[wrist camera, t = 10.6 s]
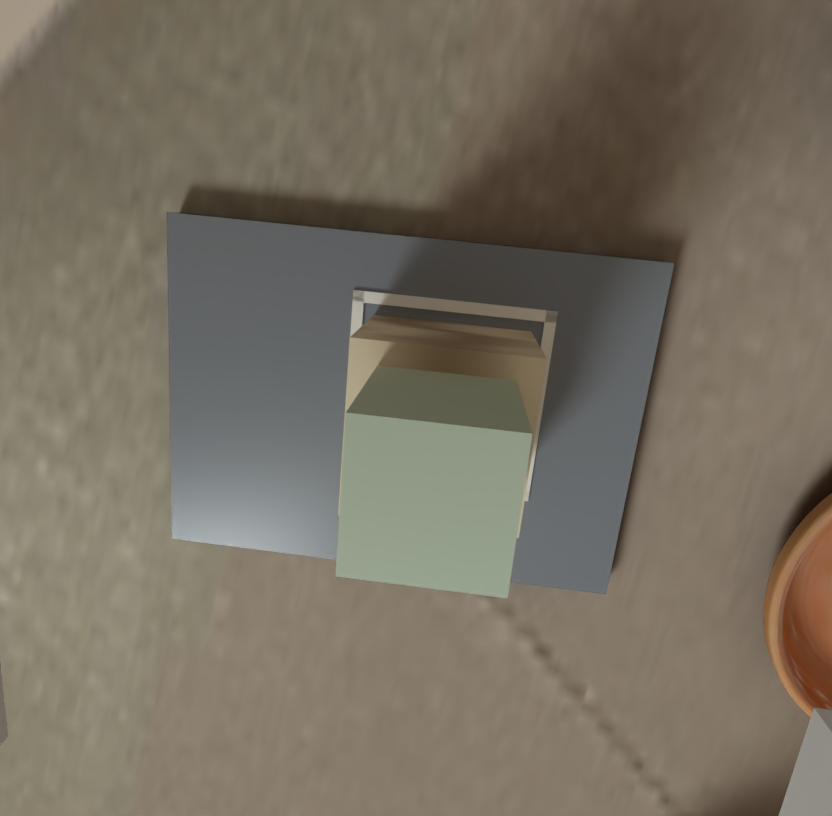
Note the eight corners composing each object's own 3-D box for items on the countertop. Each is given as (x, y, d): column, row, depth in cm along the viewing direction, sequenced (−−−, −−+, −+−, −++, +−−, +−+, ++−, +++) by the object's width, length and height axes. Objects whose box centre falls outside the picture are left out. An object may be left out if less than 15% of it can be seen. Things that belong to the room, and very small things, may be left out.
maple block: (363, 460, 30) (337, 515, 24) (374, 314, 28) (349, 337, 22) (509, 477, 30) (518, 538, 24) (531, 331, 28) (546, 358, 22)
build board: (182, 527, 33) (170, 539, 32) (178, 212, 29) (164, 212, 28) (601, 581, 32) (606, 596, 31) (665, 261, 28) (675, 263, 26)
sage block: (367, 492, 24) (335, 576, 18) (377, 365, 23) (345, 412, 17) (498, 508, 24) (507, 598, 18) (516, 380, 22) (532, 433, 17)
